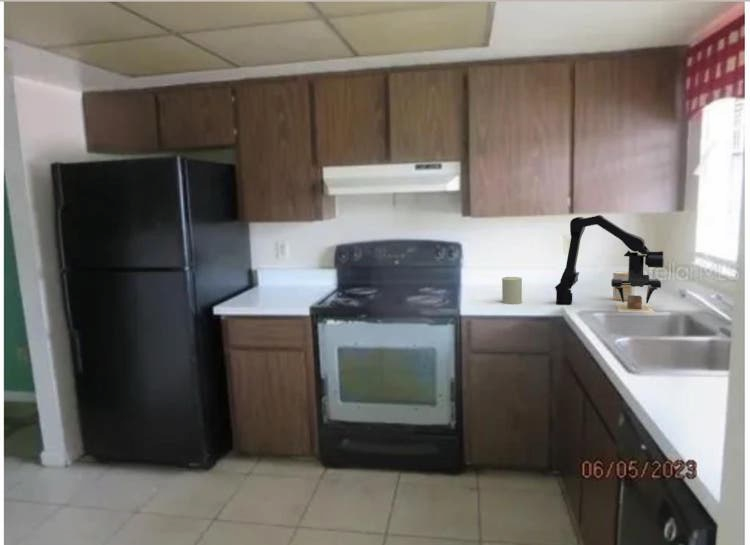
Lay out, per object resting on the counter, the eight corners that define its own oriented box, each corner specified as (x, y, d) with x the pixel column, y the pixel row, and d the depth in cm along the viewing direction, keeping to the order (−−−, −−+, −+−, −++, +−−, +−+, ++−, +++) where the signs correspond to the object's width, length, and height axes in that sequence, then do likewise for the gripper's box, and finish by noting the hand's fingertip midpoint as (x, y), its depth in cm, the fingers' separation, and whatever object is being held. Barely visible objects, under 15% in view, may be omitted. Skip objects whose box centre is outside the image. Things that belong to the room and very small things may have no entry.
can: (508, 299, 257) (508, 275, 256) (525, 301, 251) (525, 276, 249) (498, 302, 251) (498, 277, 249) (515, 305, 244) (515, 279, 243)
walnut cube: (628, 309, 226) (628, 297, 226) (627, 306, 231) (627, 295, 230) (641, 309, 225) (641, 297, 224) (640, 307, 229) (640, 295, 229)
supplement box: (634, 300, 244) (635, 272, 243) (631, 302, 241) (632, 273, 239) (615, 298, 250) (616, 270, 248) (612, 300, 246) (613, 272, 244)
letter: (618, 311, 223) (618, 311, 223) (615, 304, 238) (615, 303, 238) (655, 313, 218) (655, 312, 218) (650, 305, 233) (650, 304, 233)
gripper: (613, 269, 221) (612, 305, 223) (663, 269, 215) (662, 307, 217) (611, 265, 231) (610, 300, 234) (659, 266, 225) (658, 302, 227)
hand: (634, 302), depth 227 cm, fingers open, 9 cm apart
